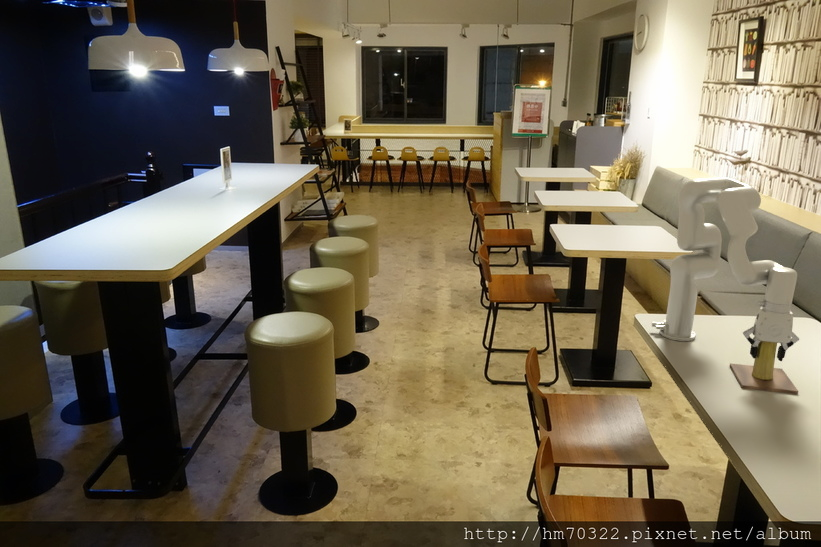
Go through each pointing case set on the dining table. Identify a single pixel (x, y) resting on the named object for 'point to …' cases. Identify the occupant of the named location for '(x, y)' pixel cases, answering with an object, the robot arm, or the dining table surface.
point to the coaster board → (776, 384)
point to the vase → (764, 360)
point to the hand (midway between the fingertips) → (766, 357)
